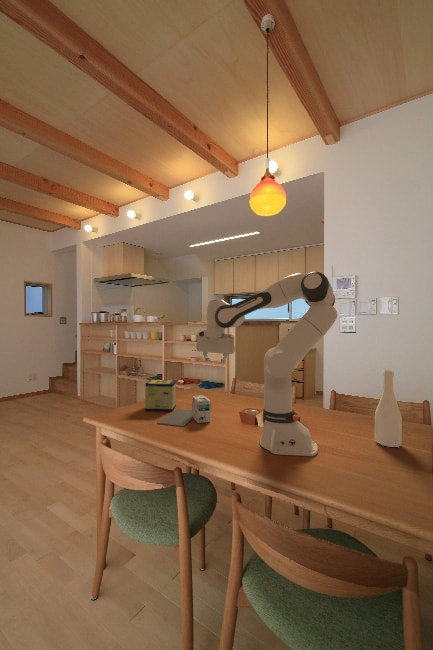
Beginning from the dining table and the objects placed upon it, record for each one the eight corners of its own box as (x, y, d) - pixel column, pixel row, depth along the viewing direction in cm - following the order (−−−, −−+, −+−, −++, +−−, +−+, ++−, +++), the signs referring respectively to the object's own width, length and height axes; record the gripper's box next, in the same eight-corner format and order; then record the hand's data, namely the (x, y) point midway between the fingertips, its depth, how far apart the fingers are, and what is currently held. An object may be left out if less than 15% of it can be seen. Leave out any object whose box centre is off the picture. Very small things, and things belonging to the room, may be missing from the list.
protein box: (149, 406, 173) (149, 379, 173) (176, 406, 173) (176, 379, 173) (144, 411, 163) (144, 383, 163) (172, 411, 162) (172, 383, 162)
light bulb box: (210, 422, 145) (211, 400, 145) (197, 423, 143) (198, 401, 143) (203, 415, 155) (204, 394, 155) (190, 416, 153) (192, 395, 153)
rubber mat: (201, 412, 162) (201, 411, 162) (183, 426, 139) (183, 425, 139) (177, 409, 166) (177, 408, 166) (157, 423, 143) (157, 422, 143)
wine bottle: (385, 438, 127) (386, 368, 127) (407, 446, 118) (407, 372, 118) (369, 441, 124) (370, 369, 123) (389, 450, 115) (390, 373, 115)
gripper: (237, 334, 139) (237, 363, 139) (202, 332, 150) (201, 359, 150) (230, 334, 134) (230, 365, 134) (194, 332, 145) (194, 360, 145)
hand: (214, 362), depth 142 cm, fingers open, 8 cm apart
